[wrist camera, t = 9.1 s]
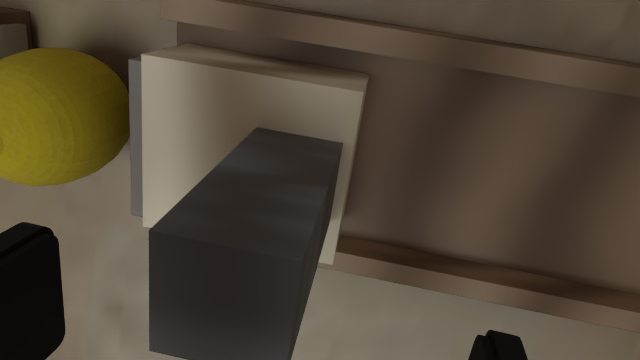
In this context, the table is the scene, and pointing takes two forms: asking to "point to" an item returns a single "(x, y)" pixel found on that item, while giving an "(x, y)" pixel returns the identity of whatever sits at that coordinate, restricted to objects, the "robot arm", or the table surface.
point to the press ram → (237, 193)
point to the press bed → (471, 158)
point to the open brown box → (14, 32)
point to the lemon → (59, 116)
